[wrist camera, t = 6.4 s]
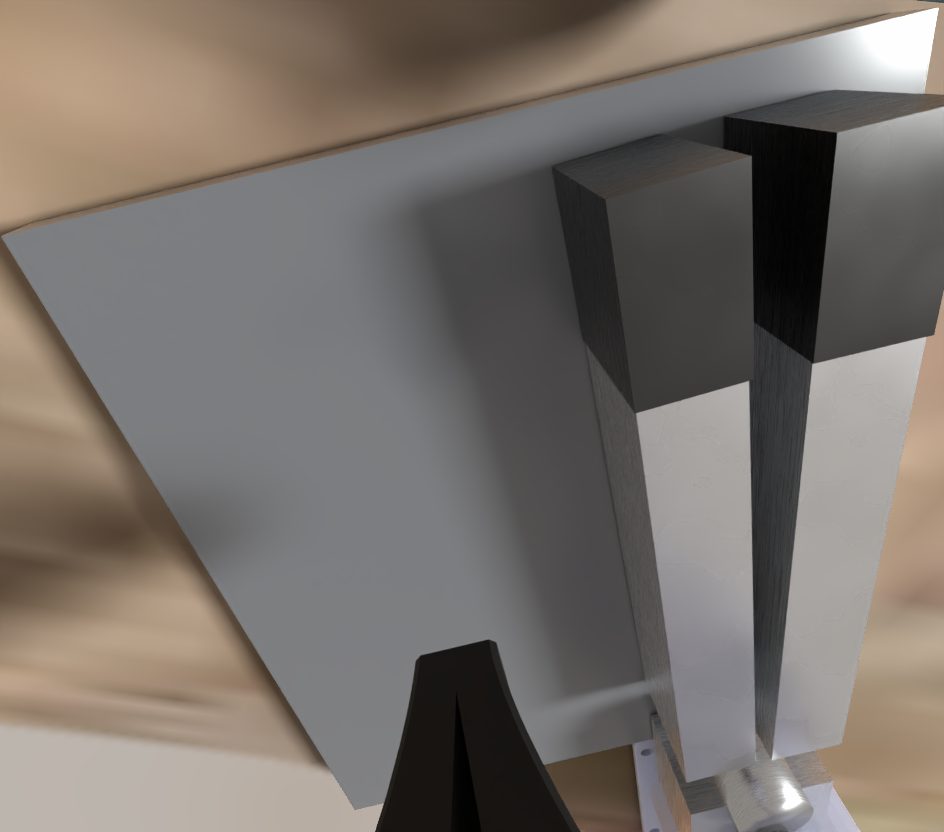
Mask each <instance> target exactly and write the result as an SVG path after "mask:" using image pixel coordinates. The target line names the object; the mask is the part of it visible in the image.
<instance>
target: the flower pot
mask: <svg viewBox="0 0 944 832" xmlns="http://www.w3.org/2000/svg"><path fill="white" fill-rule="evenodd" d="M919 1H929V2H939V3H944V0H919Z"/></svg>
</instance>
